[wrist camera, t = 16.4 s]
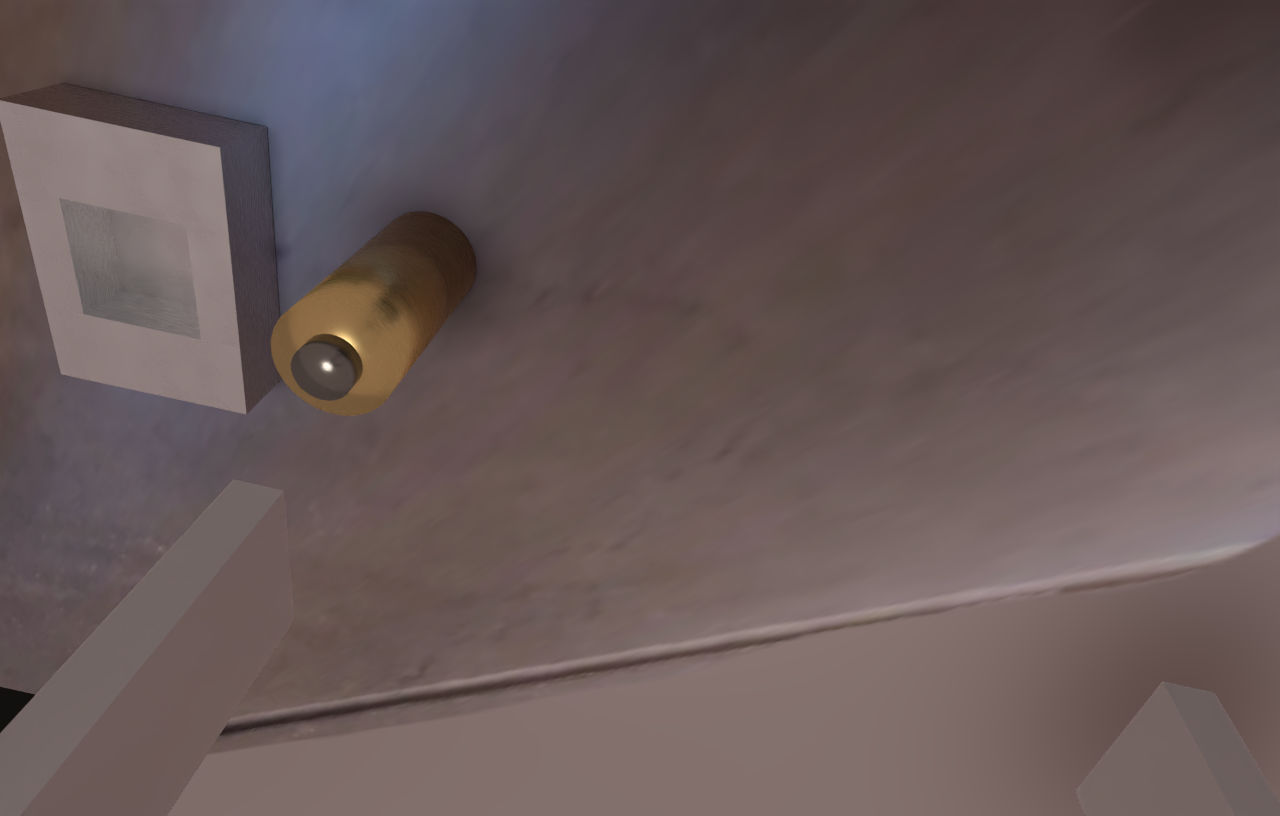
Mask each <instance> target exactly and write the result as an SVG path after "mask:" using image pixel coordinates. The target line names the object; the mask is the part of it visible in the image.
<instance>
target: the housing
mask: <svg viewBox="0 0 1280 816" xmlns="http://www.w3.org/2000/svg"><path fill="white" fill-rule="evenodd" d="M0 121H1V125H2V129H3V133H4V137H5V142H6V146H7V150H8V154H9V158H10V162H11V167H12V171H13V175H14V179H15V183H16V187H17V192H18V196H19V200H20V204H21V208H22V213H23V217H24V221H25V225H26V229H27V233H28V238H29V242H30V246H31V250H32V254H33V258H34V263H35V267H36V271H37V275H38V279H39V284H40V288H41V292H42V296H43V300H44V304H45V309H46V313H47V317H48V321H49V325H50V329H51V334H52V338H53V342H54V346H55V350H56V355H57V359H58V363H59V367H60V371H61V374H63V375H68V376H72V377H77V378H81V379H86V380H91V381H95V382H100V383H104V384H109V385H114V386H118V387H123V388H128V389H132V390H137V391H141V392H146V393H151V394H155V395H160V396H164V397H169V398H174V399H178V400H183V401H188V402H192V403H197V404H201V405H206V406H211V407H215V408H220V409H225V410H229V411H234V412H238V413H243V414H247V413H248V412H249V411H250V410H251V409H252V408H253V407H254V406H255V405H256V404H257V403H258V402H259V401H260V400H261V399H262V398H263V397H264V396H266V395H267V394H268V393H269V392H270V391H271V390H272V389H273V388H274V387H275V386H276V385H277V384H278V383H279V382H280V381H281V380H282V378H281V376H280V374H279V372H278V371H277V369H276V366H275V364H274V361H273V357H272V353H271V336H272V332H273V329H274V327H275V325H276V323H277V321H278V320H279V319H280V313H279V298H278V283H277V269H276V254H275V239H274V225H273V210H272V195H271V181H270V166H269V151H268V137H267V127H265V126H260V125H255V124H251V123H246V122H241V121H237V120H232V119H227V118H223V117H218V116H213V115H209V114H204V113H199V112H195V111H190V110H185V109H181V108H176V107H171V106H167V105H162V104H157V103H153V102H148V101H143V100H139V99H134V98H129V97H125V96H120V95H115V94H111V93H106V92H101V91H97V90H92V89H87V88H83V87H78V86H73V85H69V84H64V83H61V84H56V85H52V86H48V87H44V88H40V89H36V90H32V91H28V92H23V93H19V94H15V95H11V96H7V97H3V98H0Z"/></svg>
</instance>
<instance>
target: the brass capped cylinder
mask: <svg viewBox="0 0 1280 816" xmlns="http://www.w3.org/2000/svg"><path fill="white" fill-rule="evenodd" d="M475 275H476V259H475V255H474V251H473V249H472V246H471V244H470V242H469V241H468V239H467V238H466V236H465V235H464V234H463V233H462V231H461V230H460V229H459V228H458V227H457V226H455V225H454V224H453V223H451V222H450V221H449V220H447V219H445V218H443V217H441V216H438V215H436V214H432V213H428V212H411V213H407V214H404V215H402V216H399V217H398V218H396V219H395V220H394V221H392V222H391V223H390V224H389V225H388V226H387V227H385V228H384V229H383V230H382V231H381V232H379V233H378V234H377V235H376V236H375V237H374V238H372V239H371V240H370V241H369V242H368V243H367V244H365V245H364V246H363V247H362V248H361V249H360V250H358V251H357V252H356V253H355V254H354V255H352V256H351V257H350V258H349V259H348V260H347V261H345V262H344V263H343V264H342V265H341V266H340V267H338V268H337V269H336V270H335V271H334V272H333V273H331V274H330V275H329V276H328V277H327V278H325V279H324V280H323V281H322V282H321V283H320V284H318V285H317V286H316V287H315V288H314V289H313V290H311V291H310V292H309V293H308V294H307V295H306V296H304V297H303V298H302V299H301V300H300V301H298V302H297V303H296V304H295V305H294V306H293V307H291V308H290V309H289V310H288V311H287V312H286V313H284V314H283V315H282V316H281V317H280V319H279V320H278V321H277V323H276V325H275V327H274V329H273V332H272V336H271V353H272V357H273V361H274V364H275V366H276V369H277V371H278V372H279V374H280V376H281V378H282V379H283V380H284V382H285V383H286V384H287V385H288V387H289V388H290V389H291V390H292V391H293V392H294V393H295V394H296V395H297V396H299V397H300V398H301V399H303V400H304V401H306V402H307V403H309V404H310V405H312V406H314V407H316V408H318V409H320V410H323V411H326V412H329V413H332V414H337V415H346V416H352V415H361V414H365V413H368V412H371V411H373V410H375V409H376V408H378V407H379V406H381V405H382V404H383V403H384V402H385V401H386V400H387V398H388V397H389V396H390V394H391V393H392V392H393V390H394V389H395V388H396V386H397V385H398V384H399V382H400V381H401V380H402V378H403V377H404V376H405V374H406V373H407V372H408V370H409V369H410V368H411V367H412V365H413V364H414V363H415V361H416V360H417V359H418V357H419V356H420V355H421V353H422V352H423V351H424V349H425V348H426V347H427V345H428V344H429V343H430V341H431V340H432V339H433V337H434V336H435V335H436V333H437V332H438V331H439V329H440V328H441V327H442V325H443V324H444V323H445V321H446V320H447V319H448V317H449V316H450V315H451V313H452V312H453V311H454V309H455V308H456V307H457V305H458V304H459V303H460V302H461V300H462V299H463V298H464V296H465V295H466V294H467V292H468V291H469V289H470V288H471V286H472V284H473V282H474V279H475Z"/></svg>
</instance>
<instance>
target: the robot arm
mask: <svg viewBox="0 0 1280 816" xmlns="http://www.w3.org/2000/svg"><path fill="white" fill-rule="evenodd" d="M293 621H294V616H293V603H292V589H291V576H290V562H289V549H288V535H287V522H286V509H285V495H284V490H279V489H274V488H270V487H265V486H261V485H256V484H251V483H247V482H242V481H238V480H232V482H231V483H230V484H229V485H228V486H227V487H226V488H225V489H224V490H223V491H222V492H221V493H220V495H219V496H218V497H217V498H216V499H215V500H214V501H213V502H212V503H211V504H210V505H209V507H208V508H207V509H206V510H205V511H204V512H203V513H202V514H201V515H200V516H199V517H198V519H197V520H196V521H195V522H194V523H193V524H192V525H191V526H190V527H189V528H188V529H187V530H186V532H185V533H184V534H183V535H182V536H181V537H180V538H179V539H178V540H177V541H176V542H175V544H174V545H173V546H172V547H171V548H170V549H169V550H168V551H167V552H166V553H165V554H164V556H163V557H162V558H161V559H160V560H159V561H158V562H157V563H156V564H155V565H154V566H153V567H152V569H151V570H150V571H149V572H148V573H147V574H146V575H145V576H144V577H143V578H142V579H141V581H140V582H139V583H138V584H137V585H136V586H135V587H134V588H133V589H132V590H131V591H130V593H129V594H128V595H127V596H126V597H125V598H124V599H123V600H122V601H121V602H120V603H119V604H118V606H117V607H116V608H115V609H114V610H113V611H112V612H111V613H110V614H109V615H108V616H107V618H106V619H105V620H104V621H103V622H102V623H101V624H100V625H99V626H98V627H97V628H96V630H95V631H94V632H93V633H92V634H91V635H90V636H89V637H88V638H87V639H86V640H85V642H84V643H83V644H82V645H81V646H80V647H79V648H78V649H77V650H76V651H75V652H74V653H73V655H72V656H71V657H70V658H69V659H68V660H67V661H66V662H65V663H64V664H63V665H62V667H61V668H60V669H59V670H58V671H57V672H56V673H55V674H54V675H53V676H52V677H51V679H50V680H49V681H48V682H47V683H46V684H45V685H44V686H43V687H42V688H41V689H40V690H39V692H38V693H37V694H36V695H35V694H30V693H26V692H21V691H17V690H12V689H8V688H3V687H0V816H167V815H168V813H169V812H170V810H171V809H172V807H173V806H174V804H175V803H176V801H177V800H178V798H179V796H180V795H181V793H182V792H183V790H184V789H185V787H186V786H187V784H188V782H189V781H190V779H191V778H192V776H193V775H194V773H195V772H196V770H197V769H198V767H199V766H200V764H201V763H202V761H203V759H204V758H205V756H206V755H207V753H208V752H209V750H210V749H211V747H212V746H213V744H214V743H215V741H216V739H217V738H218V736H219V735H220V733H221V732H222V730H223V729H224V727H225V726H226V724H227V723H228V721H229V719H230V718H231V716H232V715H233V713H234V712H235V710H236V709H237V707H238V706H239V704H240V703H241V701H242V699H243V698H244V696H245V695H246V693H247V692H248V690H249V689H250V687H251V686H252V684H253V683H254V681H255V679H256V678H257V676H258V675H259V673H260V672H261V670H262V669H263V667H264V666H265V664H266V662H267V661H268V659H269V658H270V656H271V655H272V653H273V652H274V650H275V649H276V647H277V646H278V644H279V642H280V641H281V639H282V638H283V636H284V635H285V633H286V632H287V630H288V629H289V627H290V626H291V624H292V622H293ZM1076 794H1077V797H1078V800H1079V802H1080V805H1081V807H1082V810H1083V813H1084V816H1280V802H1279V801H1278V799H1277V797H1276V796H1275V794H1274V792H1273V791H1272V789H1271V787H1270V786H1269V784H1268V782H1267V780H1266V779H1265V777H1264V776H1263V774H1262V772H1261V770H1260V769H1259V767H1258V765H1257V764H1256V762H1255V760H1254V758H1253V757H1252V755H1251V753H1250V752H1249V750H1248V748H1247V747H1246V745H1245V743H1244V742H1243V740H1242V738H1241V737H1240V735H1239V733H1238V732H1237V730H1236V728H1235V727H1234V725H1233V723H1232V722H1231V720H1230V718H1229V717H1228V715H1227V713H1226V711H1225V710H1224V708H1223V706H1222V705H1221V703H1220V702H1219V700H1218V698H1217V696H1216V695H1215V693H1213V692H1209V691H1204V690H1200V689H1195V688H1191V687H1186V686H1182V685H1177V684H1172V683H1168V682H1163V681H1162V683H1161V684H1160V685H1159V687H1158V688H1157V689H1156V690H1155V692H1154V693H1153V694H1152V695H1151V697H1150V698H1149V699H1148V700H1147V702H1146V703H1145V704H1144V705H1143V707H1142V708H1141V709H1140V711H1139V712H1138V713H1137V714H1136V716H1135V717H1134V718H1133V719H1132V720H1131V722H1130V723H1129V724H1128V725H1127V727H1126V728H1125V729H1124V730H1123V732H1122V733H1121V734H1120V735H1119V737H1118V738H1117V739H1116V740H1115V742H1114V743H1113V744H1112V745H1111V747H1110V748H1109V750H1108V751H1107V752H1106V753H1105V754H1104V756H1103V757H1102V758H1101V759H1100V761H1099V762H1098V763H1097V764H1096V766H1095V767H1094V768H1093V769H1092V771H1091V772H1090V773H1089V775H1088V776H1087V777H1086V778H1085V779H1084V781H1083V782H1082V783H1081V785H1080V786H1079V787H1078V788H1077V789H1076Z"/></svg>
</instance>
